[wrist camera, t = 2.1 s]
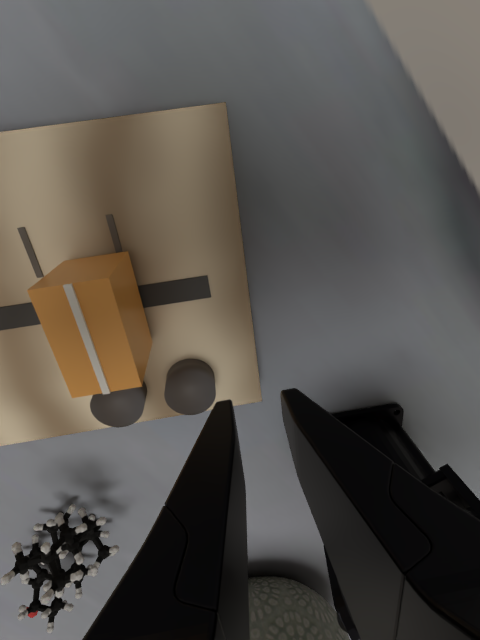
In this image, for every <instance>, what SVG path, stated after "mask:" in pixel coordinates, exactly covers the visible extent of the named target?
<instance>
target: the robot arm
mask: <svg viewBox="0 0 480 640" xmlns="http://www.w3.org/2000/svg"><path fill="white" fill-rule="evenodd" d="M281 405H282V416H283V422H284V426H285V430H286V434H287V438H288V441H289V445H290V449H291V453H292V457H293V461H294V465H295V469H296V472H297V475H298V478H299V481H300V484H301V487H302V489H303V492H304V494H305V497H306V500H307V502H308V505H309V507H310V510H311V512H312V515H313V518H314V520H315V523H316V525H317V528H318V530H319V533H320V536H321V538H322V541H323V543H324V551H325V556H326V562H327V567H328V573H329V578H330V584H331V589H332V595H333V600H334V606H335V609H336V611H337V621H338V624H339V626H340V627H341V629H342V630H343V631H345V632H346V633H348V634H349V636H350V638H351V640H480V500H479V499H478V498H477V497H476V496H475V495H474V494H473V492H472V491H471V490H470V489H469V488H468V487H467V486H466V484H465V483H464V482H463V481H462V480H461V479H460V478H459V476H458V475H457V474H456V473H455V472H454V471H453V470H452V468H451V467H450V466H449V465H448V464H446V465H444V466H442V467H440V468H439V469H440V470H438V471H437V472H435V470H434V469H433V468H432V466H431V465H430V464H429V462H428V461H427V460H426V458H425V457H424V456H423V454H422V453H421V452H420V450H419V449H418V448H417V446H416V445H415V444H414V442H413V441H412V440H411V438H410V437H409V436H408V434H407V433H406V432H405V430H404V429H403V428H402V421H403V409H402V407H401V406H400V405H399V404H389V405H383V406H378V407H372V408H366V409H361V410H355V411H349V412H343V413H338V414H332V415H331V414H330V413H328V412H327V411H326V410H324V409H323V408H322V407H320V406H319V405H318V404H316V403H315V402H314V401H312V400H311V399H310V398H308V397H307V396H306V395H304V394H303V393H302V392H300V391H299V390H298V389H296V388H292V389H287V390H282V391H281ZM395 410H396V411H395ZM82 640H250V628H249V592H248V556H247V521H246V490H245V480H244V472H243V466H242V459H241V452H240V446H239V439H238V433H237V426H236V420H235V414H234V409H233V403H232V400H230V399H228V400H223V401H218V402H216V403H215V405H214V407H213V409H212V411H211V413H210V415H209V417H208V419H207V421H206V423H205V425H204V427H203V429H202V431H201V433H200V435H199V437H198V439H197V441H196V443H195V445H194V447H193V449H192V451H191V453H190V455H189V457H188V459H187V461H186V463H185V465H184V466H183V468H182V470H181V472H180V474H179V476H178V478H177V480H176V482H175V484H174V486H173V488H172V490H171V492H170V494H169V496H168V498H167V500H166V502H165V506H163V508H162V510H161V512H160V514H159V516H158V518H157V520H156V522H155V523H154V525H153V527H152V529H151V531H150V533H149V534H148V536H147V538H146V540H145V542H144V544H143V545H142V547H141V549H140V550H139V552H138V553H137V555H136V557H135V558H134V560H133V562H132V563H131V565H130V566H129V568H128V570H127V571H126V573H125V574H124V576H123V577H122V579H121V581H120V582H119V584H118V585H117V587H116V588H115V590H114V591H113V593H112V595H111V596H110V598H109V599H108V601H107V602H106V604H105V605H104V607H103V608H102V610H101V612H100V613H99V615H98V616H97V618H96V619H95V621H94V622H93V624H92V626H91V627H90V629H89V630H88V632H87V633H86V635H85V636H84V638H83V639H82Z"/></svg>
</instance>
